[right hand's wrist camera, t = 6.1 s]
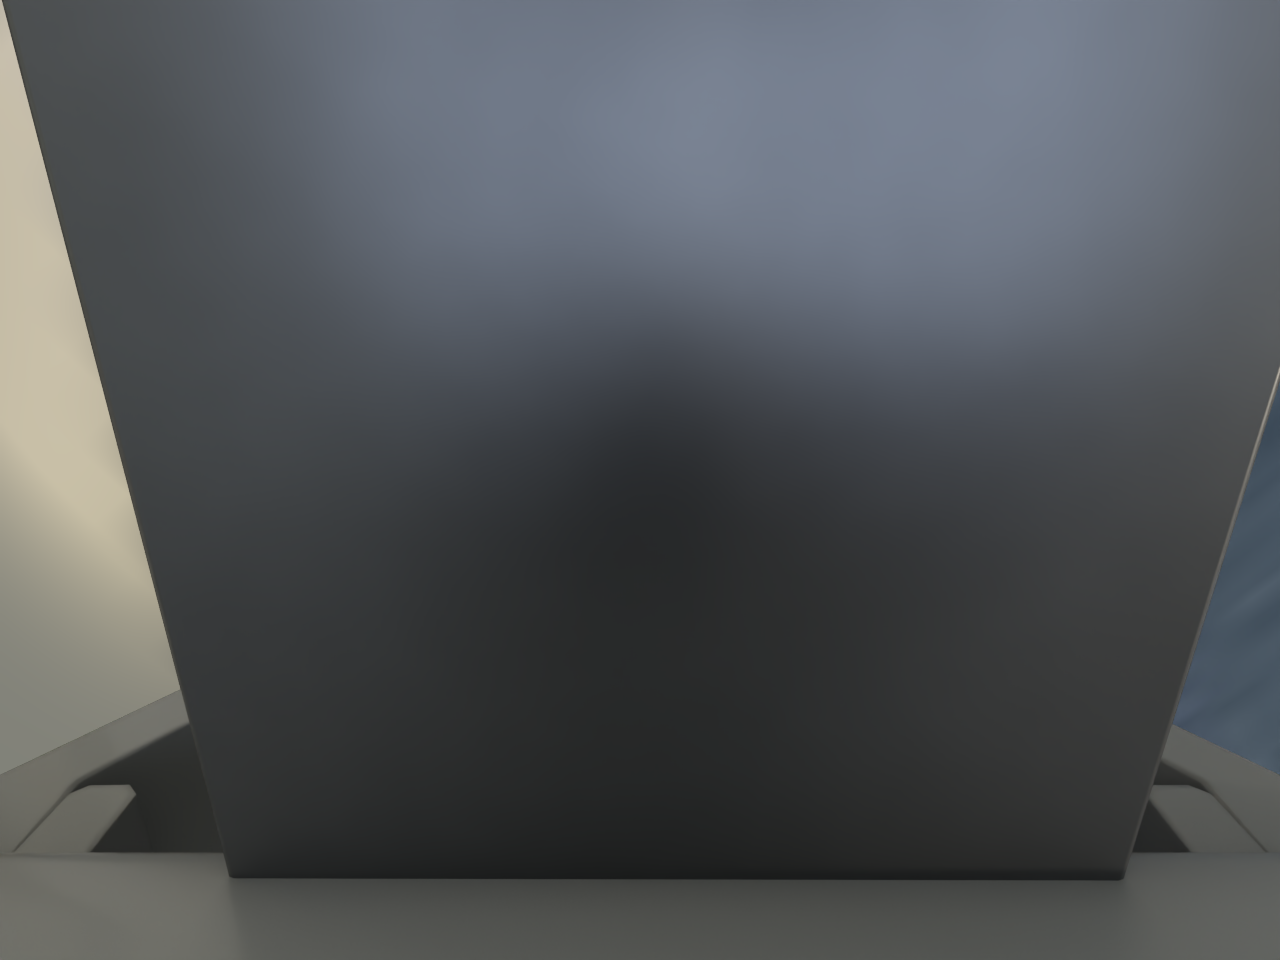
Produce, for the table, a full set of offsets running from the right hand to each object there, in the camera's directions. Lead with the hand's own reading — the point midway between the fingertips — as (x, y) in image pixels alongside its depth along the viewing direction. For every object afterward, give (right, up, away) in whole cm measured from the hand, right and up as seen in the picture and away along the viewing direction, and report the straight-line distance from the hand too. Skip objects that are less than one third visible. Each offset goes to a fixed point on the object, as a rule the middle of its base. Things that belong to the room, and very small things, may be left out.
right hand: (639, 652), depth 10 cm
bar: (0, +9, 0) cm, 9 cm away
